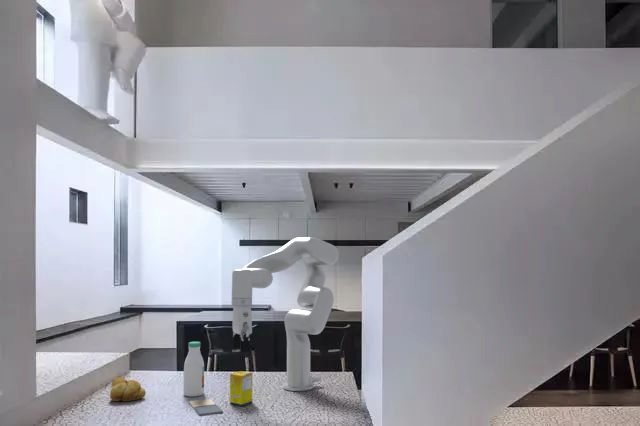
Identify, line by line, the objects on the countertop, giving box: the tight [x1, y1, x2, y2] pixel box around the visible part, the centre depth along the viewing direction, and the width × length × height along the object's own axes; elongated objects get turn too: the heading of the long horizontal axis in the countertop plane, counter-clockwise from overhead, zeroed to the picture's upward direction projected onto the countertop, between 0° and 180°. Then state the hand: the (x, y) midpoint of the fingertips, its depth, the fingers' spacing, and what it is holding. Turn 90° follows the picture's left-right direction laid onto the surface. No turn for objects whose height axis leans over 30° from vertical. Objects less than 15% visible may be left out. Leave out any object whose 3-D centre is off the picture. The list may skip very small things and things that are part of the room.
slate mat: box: [194, 404, 224, 417], centre depth 191 cm, size 8×8×1 cm
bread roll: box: [109, 376, 146, 402], centre depth 206 cm, size 13×10×8 cm
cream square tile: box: [188, 398, 217, 409], centre depth 199 cm, size 8×8×1 cm
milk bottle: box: [183, 341, 205, 398], centre depth 214 cm, size 8×8×20 cm
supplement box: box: [229, 370, 253, 407], centre depth 201 cm, size 6×6×11 cm
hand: (240, 349), depth 201 cm, fingers open, 9 cm apart
